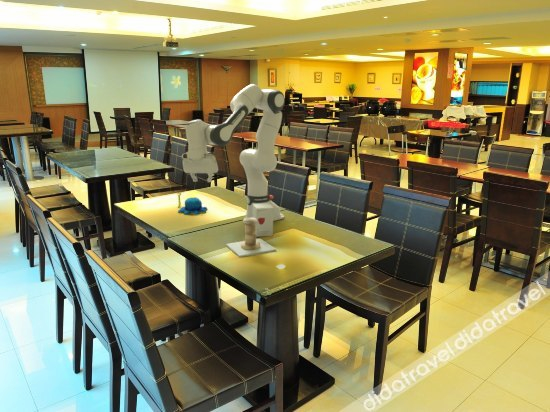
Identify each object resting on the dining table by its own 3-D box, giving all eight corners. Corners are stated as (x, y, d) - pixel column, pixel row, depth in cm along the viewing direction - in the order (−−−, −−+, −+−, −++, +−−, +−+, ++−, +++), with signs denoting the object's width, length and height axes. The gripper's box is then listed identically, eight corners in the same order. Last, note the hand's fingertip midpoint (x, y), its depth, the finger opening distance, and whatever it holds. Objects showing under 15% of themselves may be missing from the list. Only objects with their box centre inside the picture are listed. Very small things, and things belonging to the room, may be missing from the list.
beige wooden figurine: (254, 241, 201) (254, 215, 197) (263, 247, 193) (263, 220, 189) (237, 245, 196) (237, 218, 193) (246, 251, 189) (245, 223, 185)
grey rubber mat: (260, 239, 206) (260, 238, 205) (275, 250, 192) (275, 249, 192) (226, 245, 198) (226, 243, 197) (239, 257, 184) (239, 255, 184)
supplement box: (255, 237, 209) (256, 208, 205) (252, 231, 218) (252, 203, 214) (273, 235, 212) (273, 207, 208) (268, 230, 220) (269, 202, 216)
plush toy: (213, 211, 254) (213, 198, 251) (190, 217, 241) (190, 203, 239) (195, 206, 264) (195, 193, 262) (173, 211, 252) (172, 198, 249)
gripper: (218, 152, 201) (222, 180, 204) (188, 153, 212) (192, 180, 215) (210, 154, 196) (214, 183, 199) (178, 155, 207) (183, 182, 210)
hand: (202, 181), depth 207 cm, fingers open, 8 cm apart
